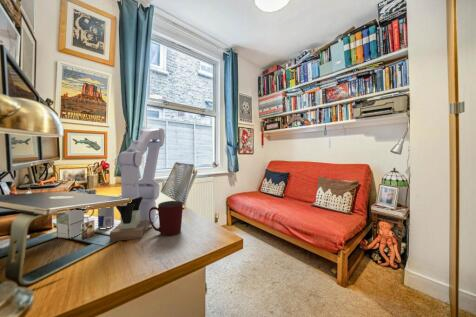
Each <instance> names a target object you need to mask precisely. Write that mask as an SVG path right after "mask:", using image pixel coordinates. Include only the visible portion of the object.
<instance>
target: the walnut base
mask: <svg viewBox="0 0 476 317" xmlns="http://www.w3.org/2000/svg"><path fill="white" fill-rule="evenodd" d="M149 224H150V223H149V220H146V221H140V224H139V225H138V226H137V227H136V228H129V229H121V222H120V223H118V224H117V226H115V227H114V228H113V229H112V230H111V231H110V232H109V241H110V242H115V241H117V242H118V241H126V240H127V241H128V240H140V239H143V237H144V235H145V234H146V232H147V230H148V229H149Z"/></svg>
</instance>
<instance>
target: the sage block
mask: <svg viewBox="0 0 476 317" xmlns="http://www.w3.org/2000/svg"><path fill="white" fill-rule="evenodd" d="M120 223H121V229H129V228H136V227H137V226H138V225H139V224H140V210H137V211H133V212H132V218H131V223H130V224H123V221H122V217H121V216H120Z"/></svg>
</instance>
